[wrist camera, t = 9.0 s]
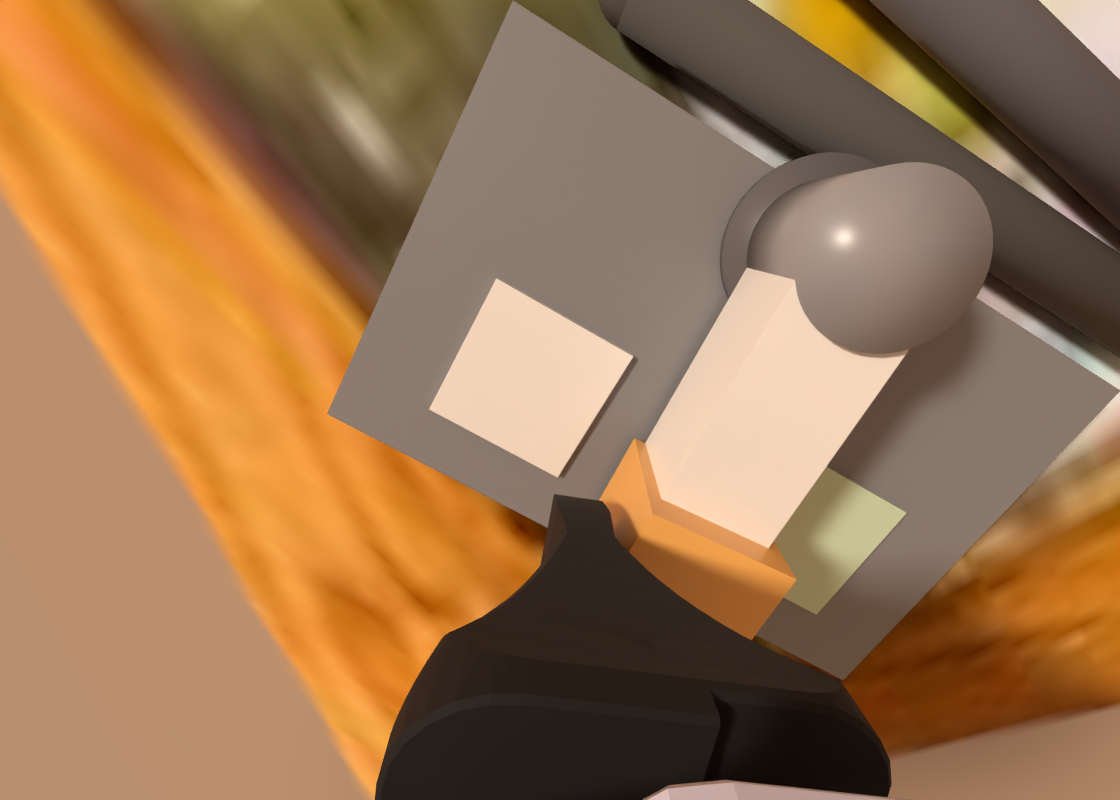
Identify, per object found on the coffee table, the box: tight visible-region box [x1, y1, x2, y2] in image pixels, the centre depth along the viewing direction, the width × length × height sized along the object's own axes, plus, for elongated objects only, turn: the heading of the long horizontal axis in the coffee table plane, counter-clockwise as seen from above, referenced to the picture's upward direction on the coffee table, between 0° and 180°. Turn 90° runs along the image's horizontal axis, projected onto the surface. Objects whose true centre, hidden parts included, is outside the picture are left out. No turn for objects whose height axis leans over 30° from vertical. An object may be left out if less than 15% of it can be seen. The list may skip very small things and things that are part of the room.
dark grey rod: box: [599, 0, 1120, 358], centre depth 12 cm, size 16×2×2 cm, turn 61°
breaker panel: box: [327, 1, 1120, 680], centre depth 13 cm, size 16×11×2 cm
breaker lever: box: [599, 162, 993, 640], centre depth 11 cm, size 3×10×4 cm, turn 154°
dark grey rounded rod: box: [869, 0, 1120, 231], centre depth 11 cm, size 12×2×2 cm, turn 55°
